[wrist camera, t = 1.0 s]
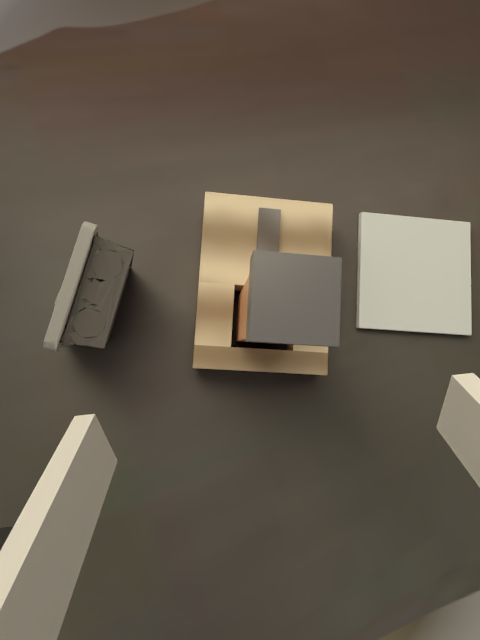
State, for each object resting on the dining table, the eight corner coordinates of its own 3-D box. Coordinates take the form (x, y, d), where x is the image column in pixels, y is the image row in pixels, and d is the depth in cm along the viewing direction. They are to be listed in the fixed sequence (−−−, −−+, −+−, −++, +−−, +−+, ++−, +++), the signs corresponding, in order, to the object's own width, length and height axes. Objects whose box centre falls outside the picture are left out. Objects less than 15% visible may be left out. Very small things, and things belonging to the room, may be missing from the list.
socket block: (316, 372, 31) (328, 375, 28) (194, 366, 30) (192, 368, 27) (321, 217, 32) (334, 202, 29) (206, 206, 32) (205, 189, 28)
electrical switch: (95, 248, 30) (57, 209, 21) (148, 264, 31) (134, 233, 22) (65, 342, 29) (12, 343, 20) (121, 355, 30) (94, 363, 21)
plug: (282, 347, 31) (339, 346, 17) (232, 344, 31) (248, 341, 17) (285, 297, 31) (341, 257, 18) (235, 293, 31) (253, 250, 17)
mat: (356, 328, 32) (358, 327, 31) (358, 214, 33) (361, 211, 32) (466, 335, 33) (471, 335, 32) (465, 224, 34) (470, 222, 33)
